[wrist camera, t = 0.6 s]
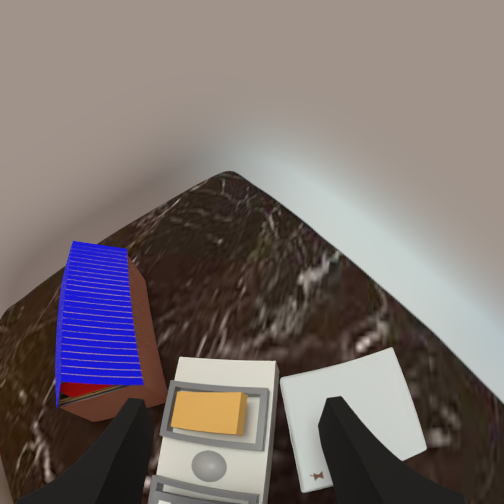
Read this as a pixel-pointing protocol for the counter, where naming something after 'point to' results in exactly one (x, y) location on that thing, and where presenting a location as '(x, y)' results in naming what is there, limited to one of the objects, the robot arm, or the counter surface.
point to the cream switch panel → (220, 435)
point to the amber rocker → (210, 412)
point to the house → (105, 335)
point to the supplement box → (361, 402)
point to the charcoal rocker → (180, 499)
